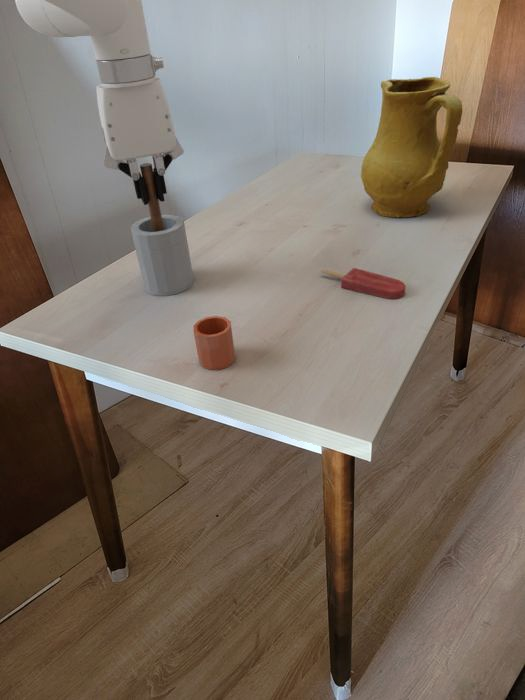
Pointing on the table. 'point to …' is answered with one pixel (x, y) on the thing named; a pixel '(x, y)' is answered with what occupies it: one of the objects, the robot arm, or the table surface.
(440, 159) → the pitcher
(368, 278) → the popsicle
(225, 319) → the pen cup
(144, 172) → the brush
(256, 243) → the table surface
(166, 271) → the grey hollow cylinder
